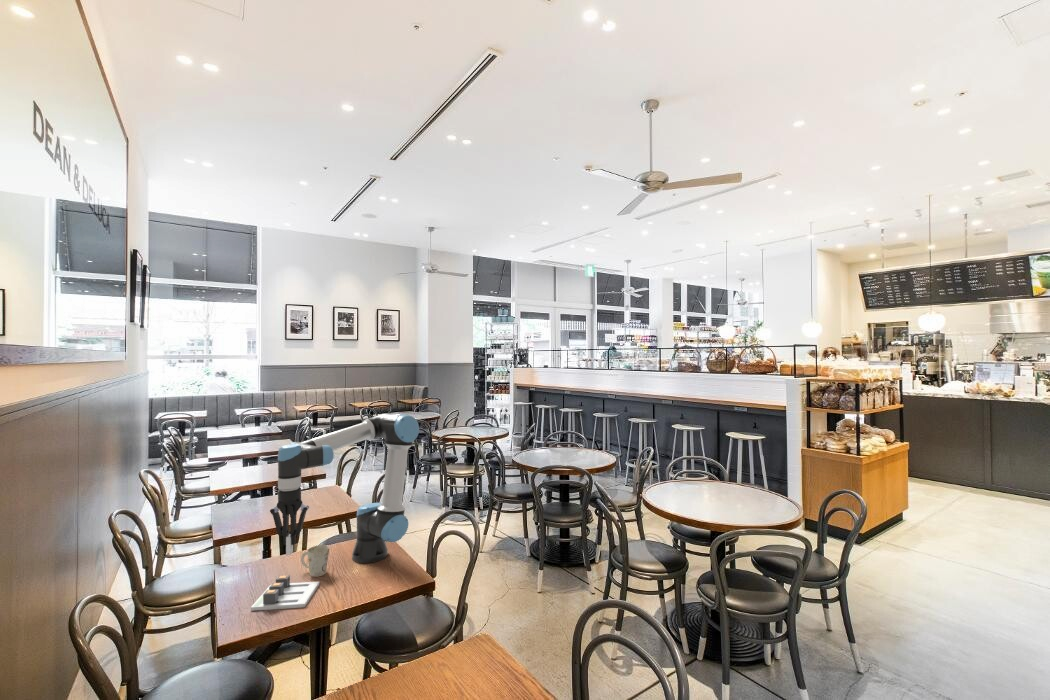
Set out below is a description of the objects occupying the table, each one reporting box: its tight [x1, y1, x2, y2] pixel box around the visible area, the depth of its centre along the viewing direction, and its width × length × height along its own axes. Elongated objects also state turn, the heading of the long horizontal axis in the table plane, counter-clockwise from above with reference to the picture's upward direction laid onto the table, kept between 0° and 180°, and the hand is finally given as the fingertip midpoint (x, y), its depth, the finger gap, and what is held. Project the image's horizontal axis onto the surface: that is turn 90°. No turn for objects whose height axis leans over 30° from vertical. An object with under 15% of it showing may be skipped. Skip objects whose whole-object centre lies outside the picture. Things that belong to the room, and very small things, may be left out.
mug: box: [300, 544, 330, 578], centre depth 193 cm, size 8×13×10 cm, turn 78°
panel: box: [250, 575, 320, 612], centre depth 173 cm, size 18×17×5 cm
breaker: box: [262, 589, 279, 604], centre depth 167 cm, size 4×3×4 cm
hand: (289, 553), depth 168 cm, fingers closed
